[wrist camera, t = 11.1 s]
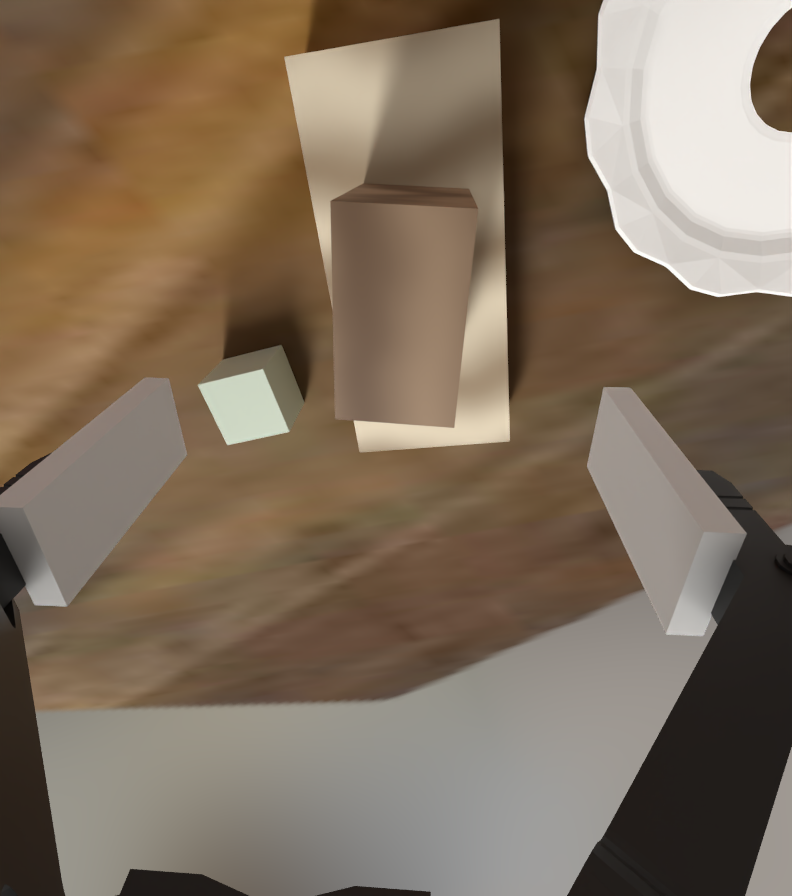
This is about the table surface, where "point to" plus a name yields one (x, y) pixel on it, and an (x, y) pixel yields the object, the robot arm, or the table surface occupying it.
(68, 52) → the table surface
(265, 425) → the sage cube
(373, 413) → the walnut block
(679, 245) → the plate
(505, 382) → the plinth
